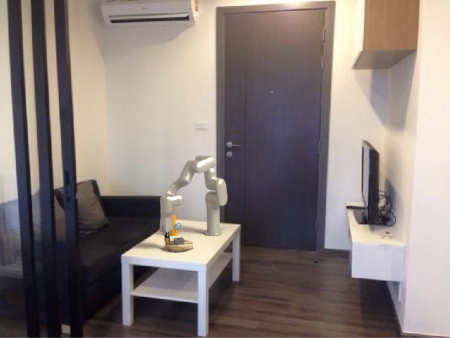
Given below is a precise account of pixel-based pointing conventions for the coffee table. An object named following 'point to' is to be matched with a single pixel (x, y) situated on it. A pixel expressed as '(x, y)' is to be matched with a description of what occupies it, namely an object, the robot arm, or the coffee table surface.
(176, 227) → the cylinder
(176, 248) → the turntable
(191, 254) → the coffee table surface
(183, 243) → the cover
